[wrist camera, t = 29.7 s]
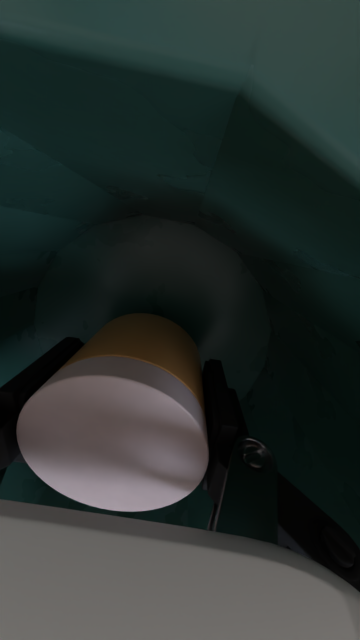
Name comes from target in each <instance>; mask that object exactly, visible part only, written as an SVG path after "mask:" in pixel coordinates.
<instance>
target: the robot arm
mask: <svg viewBox="0 0 360 640" xmlns="http://www.w3.org/2000/svg"><path fill="white" fill-rule="evenodd" d="M83 346H84V343H83V342H81V340H80V339H79V338H74V337H66V338H64V339H63V340H62V341H60V342H59V343H58V344H56V345H55V346H54V347H53V348H51V349H50V350H49V351H47V352H46V353H45V354H43V355H42V356H41V357H40V358H38V359H37V360H36V361H34V362H33V363H32V364H30V365H29V366H28V367H26V368H25V369H24V370H23V371H21V372H20V373H19V374H17V375H16V376H15V377H13V378H12V379H11V380H10V381H8V382H7V383H6V384H4V385H3V386H2V387H0V485H1V483H2V480H3V478H4V475H5V473H6V470H7V467H8V466H9V465H11V463H12V462H20V463H26V464H27V462H26V461H25V459H24V457H23V455H22V453H21V451H20V448H19V445H18V442H17V434H16V429H17V421H18V418H19V414H20V412H21V410H22V408H23V406H24V405H25V403H26V402H27V401H28V400H29V398H30V397H31V396H32V395H33V394H34V393H35V392H36V391H37V390H38V389H39V388H40V387H41V386H43V385H44V384H45V383H46V382H47V381H48V380H49V379H50V378H51V377H52V376H53V375H54V374H55V373H56V372H57V371H58V370H59V369H60V368H61V367H62V366H63V365H64V364H65V363H66V362H67V361H68V360H69V359H70V358H71V357H72V356H73V355H74V354H75V353H77V352H78V351H79V350H80V349H81V348H82V347H83ZM202 380H203V392H204V403H205V414H206V426H207V436H208V448H209V461H208V466H207V470H206V472H205V475H204V477H203V479H202V490H207V491H208V495H209V496H210V497H211V499H212V500H213V505H212V509H211V513H210V517H209V521H208V525H207V528H206V530H202V529H196V528H190V527H184V526H177V525H171V524H164V523H158V522H151V521H145V520H138V519H132V518H125V517H119V516H112V515H105V514H99V513H92V512H85V511H78V510H71V509H65V508H58V507H51V506H44V505H37V504H30V503H24V502H17V501H10V500H3V499H0V640H360V549H359V547H358V546H357V545H356V543H355V542H354V541H353V539H352V538H351V537H350V535H349V534H348V533H347V532H346V531H345V530H344V529H343V528H342V527H341V526H340V525H339V524H338V523H336V522H335V521H334V520H333V519H332V518H331V517H330V516H328V515H327V514H326V513H325V512H324V511H323V510H321V509H320V508H319V507H318V506H317V505H316V504H315V503H313V502H312V501H311V500H310V499H309V498H308V497H307V496H305V495H304V494H303V493H302V492H301V491H300V490H299V489H297V488H296V487H295V486H294V485H293V484H292V483H291V482H289V481H288V480H287V479H286V478H285V477H284V476H283V475H281V474H280V473H279V472H278V466H277V460H276V458H275V455H274V453H273V452H272V450H271V449H270V448H269V447H268V446H267V445H266V444H265V443H264V442H263V441H261V440H259V439H258V438H256V437H253V436H249V432H248V429H247V426H246V423H245V419H244V416H243V413H242V409H241V406H240V403H239V400H238V396H237V393H236V391H235V389H233V388H228V386H227V382H226V378H225V374H224V370H223V366H222V363H221V360H215V359H209V361H205V363H204V368H203V372H202Z"/></svg>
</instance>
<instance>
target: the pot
mask: <svg viewBox="0 0 360 640" xmlns="http://www.w3.org/2000/svg"><path fill="white" fill-rule="evenodd" d="M133 313H147V314H153V315H158V316H161V317H164V318H166V319H168V320H170V321H172V322H174V323H176V324H177V325H179V326H180V327H181V328H182V329H184V330H185V331H186V332H187V333H188V334H189V336H190V337H191V338H192V340H193V341H194V342H195V344H196V346H197V348H198V351H199V354H200V360H201V369H202V372H203V368H204V363H205V361H209V359H215V360H221V363H222V366H223V370H224V374H225V378H226V382H227V386H228V388H233V389H235V391H236V393H237V396H238V400H239V403H240V406H241V409H242V413H243V416H244V419H245V423H246V426H247V429H248V432H249V436H253V437H256V438H258V439H259V440H261V441H263V442H264V443H265V444H266V445H267V446H268V447H269V448H270V449H271V450H272V452H273V453H274V455H275V458H276V460H277V466H278V472H279V473H280V474H281V475H283V476H284V477H285V478H286V479H287V480H288V481H289V482H291V483H292V484H293V485H294V486H295V487H296V488H297V489H299V490H300V491H301V492H302V493H303V494H304V495H305V496H307V497H308V498H309V499H310V500H311V501H312V502H313V503H315V504H316V505H317V506H318V507H319V508H320V509H321V510H323V511H324V512H325V513H326V514H327V515H328V516H330V517H331V518H332V519H333V520H334V521H335V522H336V523H338V524H339V525H340V526H341V527H342V528H343V529H344V530H345V531H346V532H347V533H348V534H349V535H350V537H351V538H352V539H353V541H354V542H355V543H356V545H357V546H358V547H359V549H360V0H0V387H2V386H3V385H4V384H6V383H7V382H8V381H10V380H11V379H12V378H13V377H15V376H16V375H17V374H19V373H20V372H21V371H23V370H24V369H25V368H26V367H28V366H29V365H30V364H32V363H33V362H34V361H36V360H37V359H38V358H40V357H41V356H42V355H43V354H45V353H46V352H47V351H49V350H50V349H51V348H53V347H54V346H55V345H56V344H58V343H59V342H60V341H62V340H63V339H64V338H66V337H74V338H79V339H80V340H81V342H83V343H84V345H85V344H86V343H87V342H88V341H89V340H90V339H91V338H92V337H93V336H94V335H95V334H96V333H97V332H98V331H99V330H100V329H101V328H102V327H103V326H105V325H106V324H107V323H108V322H110V321H112V320H113V319H116V318H118V317H120V316H124V315H127V314H133ZM0 499H3V500H10V501H17V502H24V503H30V504H37V505H44V506H51V507H58V508H65V509H71V510H78V511H85V512H92V513H99V514H105V515H112V516H119V517H125V518H132V519H138V520H145V521H151V522H158V523H164V524H171V525H177V526H184V527H190V528H196V529H202V530H206V528H207V525H208V521H209V517H210V513H211V509H212V505H213V500H212V499H211V497H210V496H209V495H208V491H207V490H202V480H201V482H200V483H199V485H198V486H197V487H196V488H195V489H194V490H193V491H192V492H191V493H190V494H188V495H187V496H186V497H184V498H183V499H181V500H179V501H177V502H175V503H173V504H171V505H168V506H165V507H162V508H158V509H153V510H147V511H135V512H126V511H113V510H107V509H101V508H97V507H93V506H89V505H87V504H84V503H81V502H78V501H76V500H73V499H71V498H69V497H67V496H65V495H63V494H61V493H60V492H58V491H56V490H55V489H53V488H52V487H50V486H49V485H48V484H47V483H45V482H44V481H43V480H42V479H41V478H40V477H38V476H37V475H36V474H35V472H34V471H33V470H32V469H31V468H30V467H29V465H28V464H26V463H20V462H12V463H11V465H9V466H8V467H7V470H6V473H5V475H4V478H3V480H2V483H1V485H0Z"/></svg>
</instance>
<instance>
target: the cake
mask: <svg viewBox="0 0 360 640" xmlns="http://www.w3.org/2000/svg"><path fill="white" fill-rule="evenodd" d="M16 434H17V442H18V445H19V448H20V451H21V453H22V455H23V457H24V459H25V461H26V462H27V464H28V465H29V467H30V468H31V469H32V470H33V471H34V472H35V474H36V475H37V476H38V477H40V478H41V479H42V480H43V481H44V482H45V483H47V484H48V485H49V486H50V487H52V488H53V489H55V490H56V491H58V492H60V493H61V494H63V495H65V496H67V497H69V498H71V499H73V500H76V501H78V502H81V503H84V504H87V505H89V506H93V507H97V508H101V509H107V510H113V511H126V512H135V511H147V510H153V509H158V508H162V507H165V506H168V505H171V504H173V503H175V502H177V501H179V500H181V499H183V498H184V497H186V496H187V495H188V494H190V493H191V492H192V491H193V490H194V489H195V488H196V487H197V486H198V485H199V483H200V482H201V480H202V479H203V477H204V475H205V472H206V470H207V466H208V461H209V448H208V436H207V426H206V414H205V403H204V392H203V380H202V369H201V360H200V354H199V351H198V348H197V346H196V344H195V342H194V341H193V340H192V338H191V337H190V336H189V334H188V333H187V332H186V331H185V330H184V329H182V328H181V327H180V326H179V325H177V324H176V323H174V322H172V321H170V320H168V319H166V318H164V317H161V316H158V315H153V314H147V313H133V314H127V315H124V316H120V317H118V318H116V319H113V320H112V321H110V322H108V323H107V324H106V325H105V326H103V327H102V328H101V329H100V330H99V331H98V332H97V333H96V334H95V335H94V336H93V337H92V338H91V339H90V340H89V341H88V342H87V343H86V344H85V345H84V346H83V347H82V348H81V349H80V350H79V351H78V352H77V353H75V354H74V355H73V356H72V357H71V358H70V359H69V360H68V361H67V362H66V363H65V364H64V365H63V366H62V367H61V368H60V369H59V370H58V371H57V372H56V373H55V374H54V375H53V376H52V377H51V378H50V379H49V380H48V381H47V382H46V383H45V384H44V385H43V386H41V387H40V388H39V389H38V390H37V391H36V392H35V393H34V394H33V395H32V396H31V397H30V398H29V400H28V401H27V402H26V403H25V405H24V406H23V408H22V410H21V412H20V414H19V418H18V421H17V429H16Z"/></svg>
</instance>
